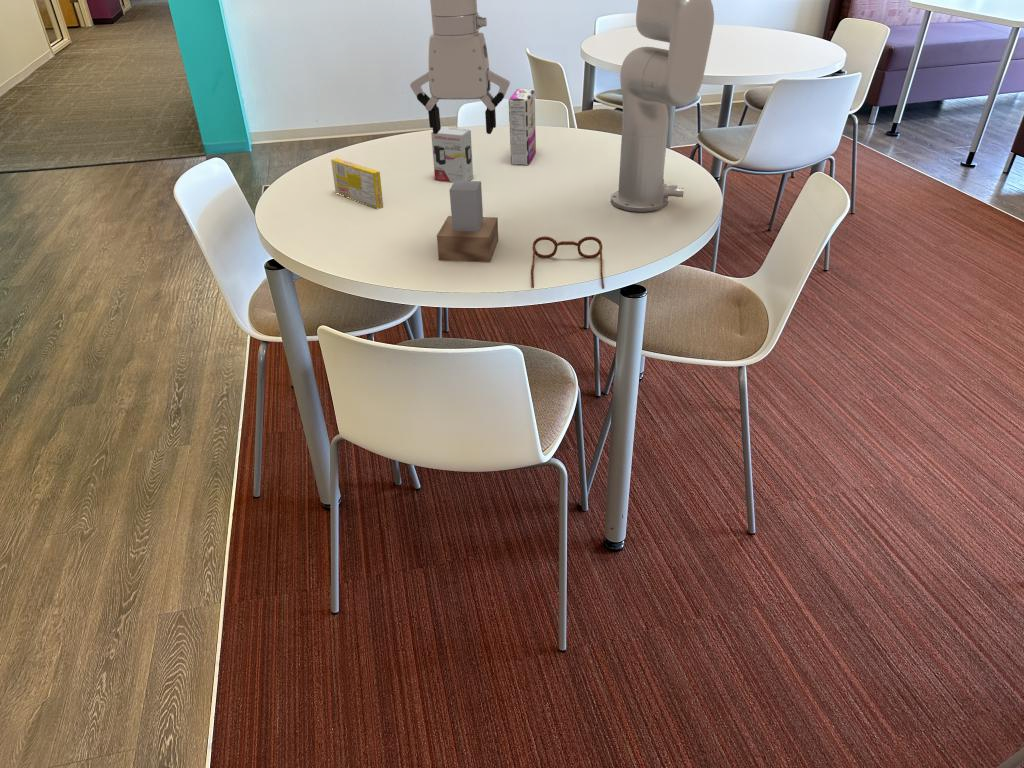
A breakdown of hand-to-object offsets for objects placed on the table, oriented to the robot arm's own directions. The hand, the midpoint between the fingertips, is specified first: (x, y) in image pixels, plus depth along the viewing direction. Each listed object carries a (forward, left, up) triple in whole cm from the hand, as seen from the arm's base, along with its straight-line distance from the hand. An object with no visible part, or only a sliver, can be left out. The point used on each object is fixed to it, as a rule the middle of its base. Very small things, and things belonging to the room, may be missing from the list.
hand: (463, 131), depth 128 cm
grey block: (0, 0, -18) cm, 18 cm away
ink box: (+12, -42, -23) cm, 49 cm away
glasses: (-20, +8, -23) cm, 31 cm away
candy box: (+31, -26, -23) cm, 47 cm away
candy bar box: (-3, -59, -23) cm, 63 cm away
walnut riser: (0, 0, -23) cm, 23 cm away
